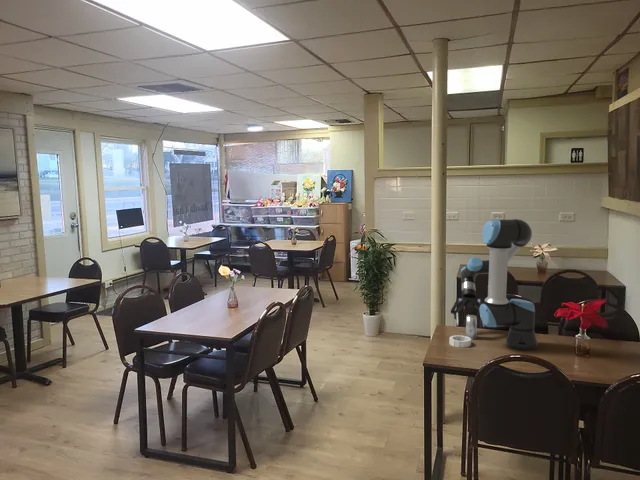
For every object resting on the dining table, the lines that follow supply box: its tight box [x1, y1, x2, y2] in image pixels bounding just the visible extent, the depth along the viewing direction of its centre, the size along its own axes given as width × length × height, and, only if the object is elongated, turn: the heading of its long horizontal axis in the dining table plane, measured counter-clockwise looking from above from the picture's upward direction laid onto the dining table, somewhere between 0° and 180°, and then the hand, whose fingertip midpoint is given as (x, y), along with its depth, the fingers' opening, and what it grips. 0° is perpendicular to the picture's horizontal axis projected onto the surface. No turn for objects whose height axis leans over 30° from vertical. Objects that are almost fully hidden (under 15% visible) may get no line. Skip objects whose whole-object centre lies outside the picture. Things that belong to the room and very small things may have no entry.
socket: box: [449, 334, 472, 348], centre depth 250 cm, size 10×10×3 cm
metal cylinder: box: [465, 314, 478, 341], centre depth 259 cm, size 6×6×12 cm
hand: (470, 324), depth 259 cm, fingers open, 13 cm apart
